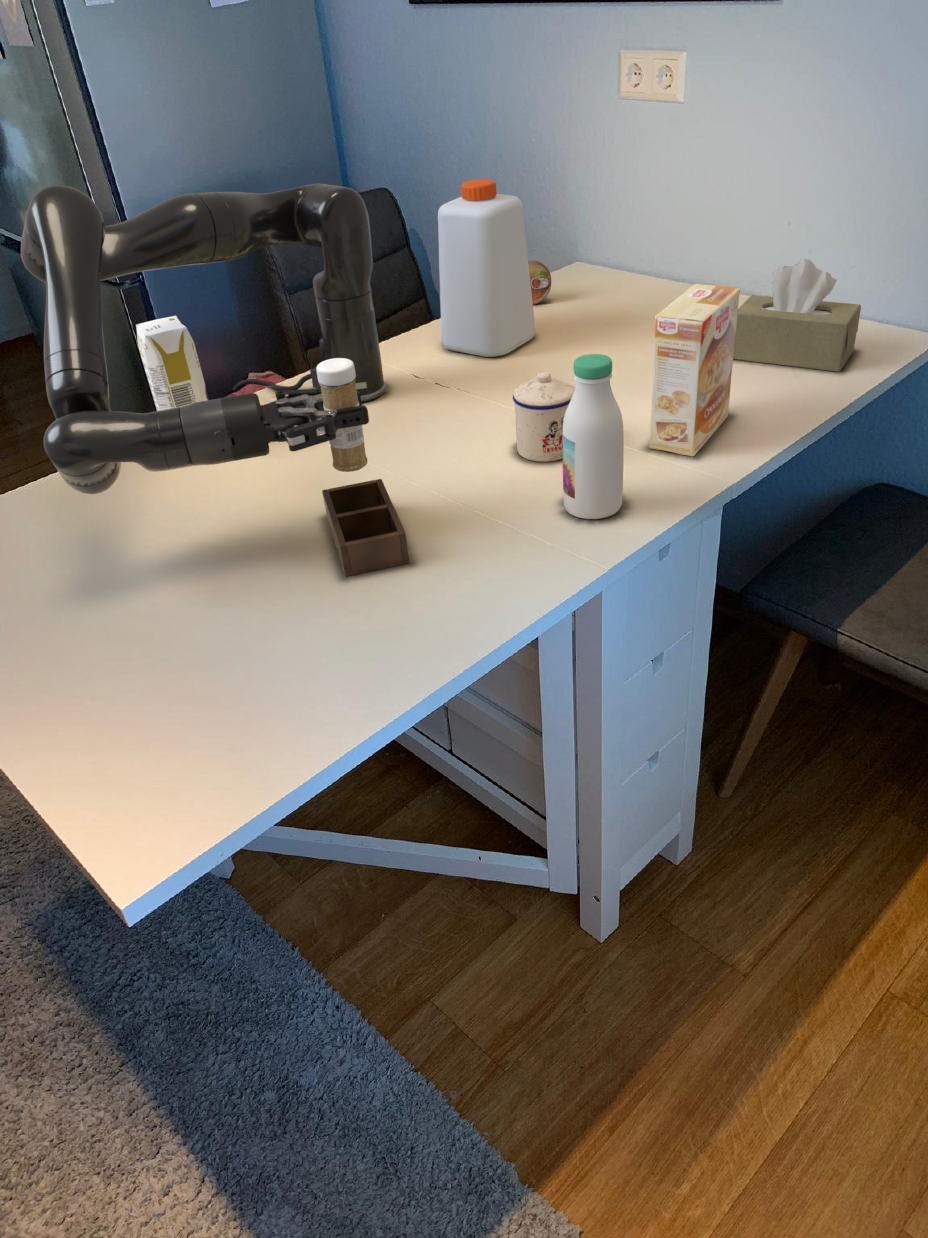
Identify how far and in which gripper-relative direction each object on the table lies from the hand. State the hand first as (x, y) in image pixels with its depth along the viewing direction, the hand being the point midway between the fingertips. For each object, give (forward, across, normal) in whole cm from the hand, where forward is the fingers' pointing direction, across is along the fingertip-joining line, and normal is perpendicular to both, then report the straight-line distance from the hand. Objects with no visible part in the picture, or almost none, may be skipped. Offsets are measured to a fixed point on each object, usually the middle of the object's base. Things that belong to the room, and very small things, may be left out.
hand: (363, 406), depth 115 cm
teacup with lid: (+29, -12, -16) cm, 35 cm away
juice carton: (-24, -37, -17) cm, 47 cm away
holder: (-3, +4, -16) cm, 17 cm away
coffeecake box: (+49, -8, -16) cm, 52 cm away
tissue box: (+77, -28, -15) cm, 84 cm away
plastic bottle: (+32, -58, -16) cm, 69 cm away
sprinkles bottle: (-3, 0, -8) cm, 8 cm away
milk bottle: (+27, +8, -16) cm, 33 cm away
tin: (+44, -78, -16) cm, 91 cm away
